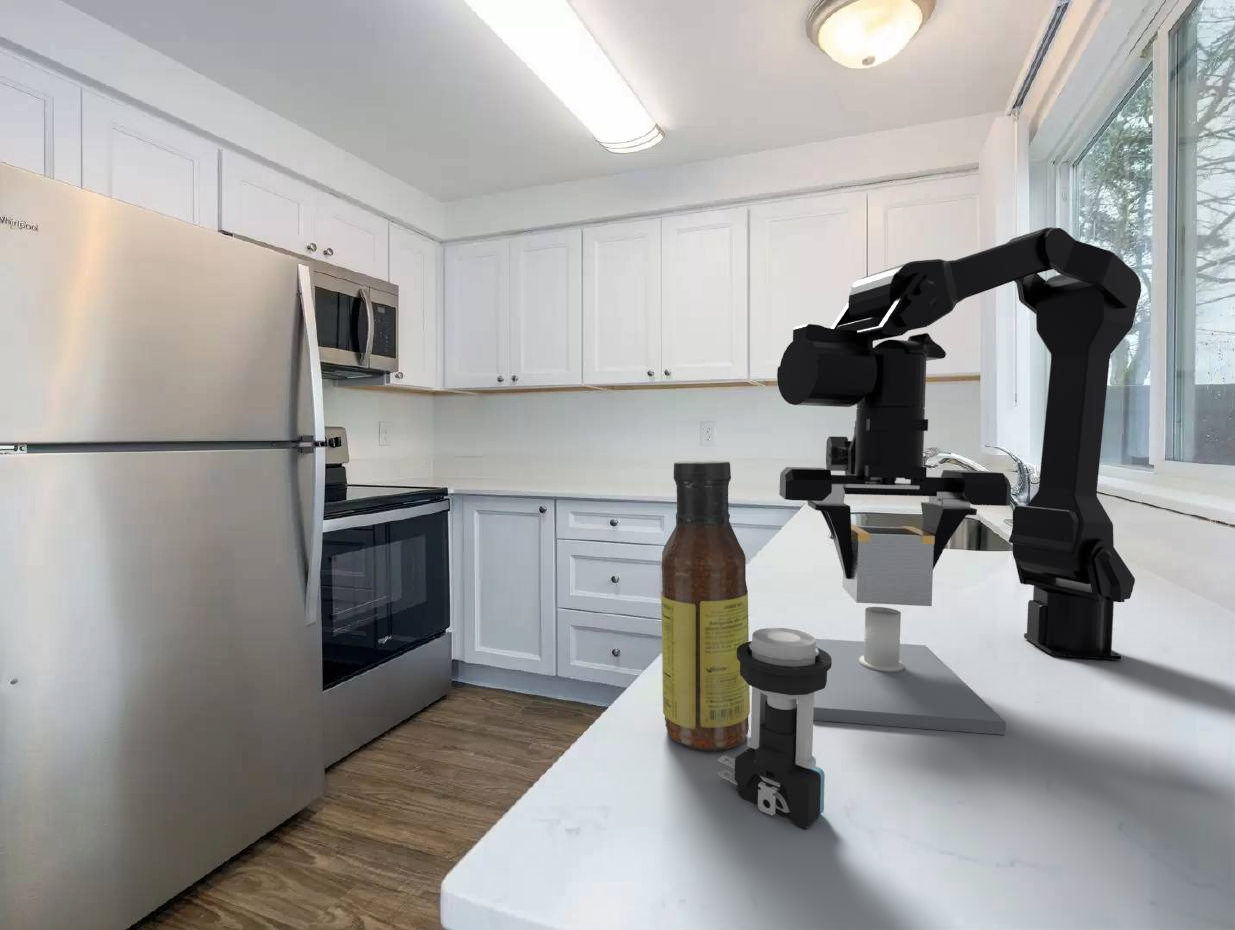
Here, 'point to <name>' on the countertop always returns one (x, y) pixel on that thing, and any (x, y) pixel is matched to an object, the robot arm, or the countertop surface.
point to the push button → (781, 725)
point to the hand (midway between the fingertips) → (884, 579)
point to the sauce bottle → (704, 614)
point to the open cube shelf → (891, 566)
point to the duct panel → (897, 684)
